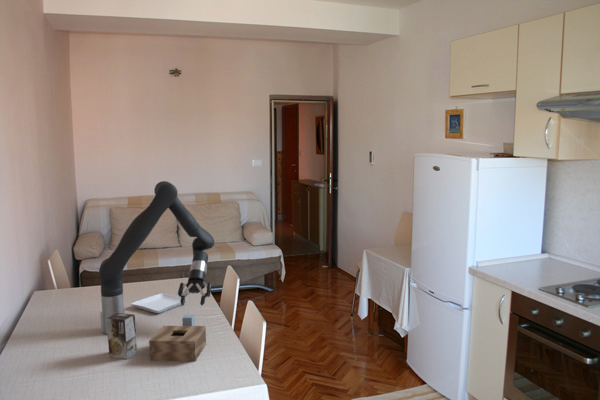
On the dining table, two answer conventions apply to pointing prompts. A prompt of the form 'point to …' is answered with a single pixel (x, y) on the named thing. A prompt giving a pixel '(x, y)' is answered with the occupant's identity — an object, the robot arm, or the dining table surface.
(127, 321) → the coffee box
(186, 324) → the slate peg
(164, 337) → the wooden socket block
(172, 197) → the robot arm
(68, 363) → the dining table surface
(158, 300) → the salad plate
